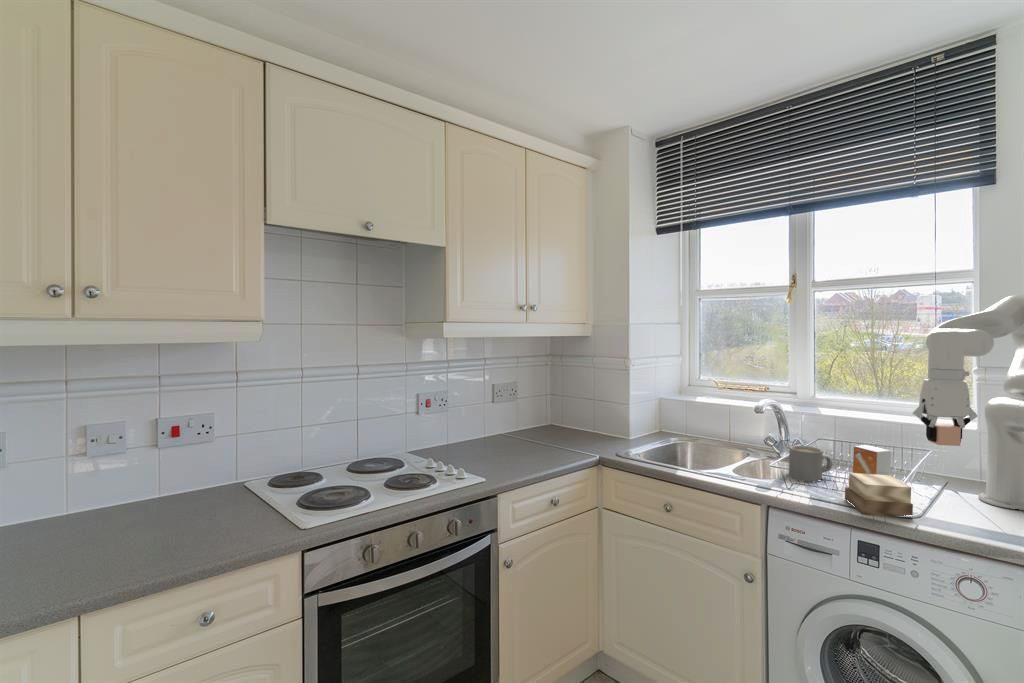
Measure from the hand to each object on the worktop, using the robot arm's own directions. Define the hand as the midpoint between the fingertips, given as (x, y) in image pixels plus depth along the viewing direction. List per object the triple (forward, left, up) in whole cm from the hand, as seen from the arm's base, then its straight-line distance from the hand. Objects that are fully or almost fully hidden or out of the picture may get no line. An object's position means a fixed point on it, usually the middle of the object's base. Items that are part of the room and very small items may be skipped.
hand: (943, 440), depth 139 cm
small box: (+7, -24, -22) cm, 33 cm away
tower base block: (+14, -3, -22) cm, 26 cm away
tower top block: (+14, -3, -17) cm, 23 cm away
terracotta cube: (0, 0, -1) cm, 1 cm away
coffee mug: (+23, -30, -22) cm, 44 cm away
